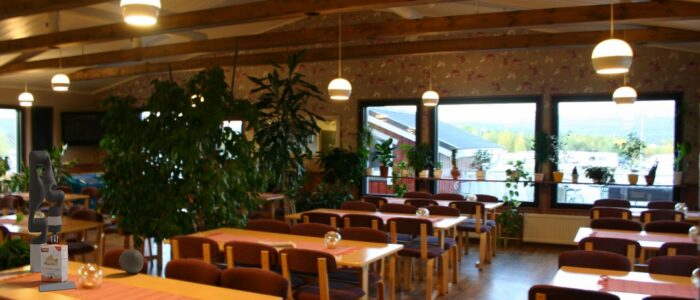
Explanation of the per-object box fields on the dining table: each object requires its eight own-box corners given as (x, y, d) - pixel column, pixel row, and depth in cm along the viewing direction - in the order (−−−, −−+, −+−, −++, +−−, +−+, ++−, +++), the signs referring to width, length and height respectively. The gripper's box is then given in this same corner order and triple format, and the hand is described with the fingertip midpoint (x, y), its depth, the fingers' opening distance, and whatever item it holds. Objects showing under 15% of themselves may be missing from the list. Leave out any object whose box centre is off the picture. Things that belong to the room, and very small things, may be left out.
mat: (39, 284, 340) (39, 283, 340) (74, 281, 348) (74, 280, 348) (39, 292, 324) (39, 291, 324) (76, 288, 332) (76, 287, 332)
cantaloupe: (130, 270, 380) (130, 246, 380) (148, 272, 375) (148, 248, 375) (114, 274, 367) (114, 250, 367) (132, 277, 362) (132, 252, 361)
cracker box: (40, 281, 347) (40, 245, 347) (48, 279, 353) (47, 243, 352) (61, 282, 343) (60, 246, 343) (68, 280, 349) (68, 244, 349)
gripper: (47, 222, 359) (47, 251, 360) (47, 225, 348) (47, 255, 348) (61, 221, 363) (60, 250, 363) (62, 224, 351) (61, 254, 351)
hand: (54, 252), depth 356 cm, fingers closed
